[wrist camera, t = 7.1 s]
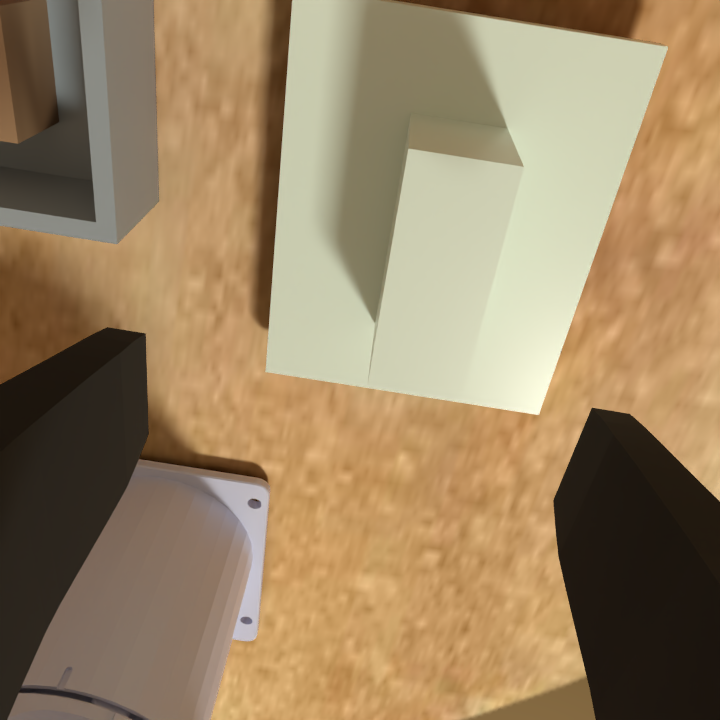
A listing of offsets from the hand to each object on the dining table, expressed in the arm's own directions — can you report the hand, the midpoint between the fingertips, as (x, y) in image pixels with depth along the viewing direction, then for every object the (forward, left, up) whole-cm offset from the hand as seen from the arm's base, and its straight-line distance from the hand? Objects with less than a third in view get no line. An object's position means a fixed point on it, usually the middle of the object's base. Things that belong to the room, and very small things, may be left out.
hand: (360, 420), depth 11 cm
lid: (0, -1, -9) cm, 9 cm away
